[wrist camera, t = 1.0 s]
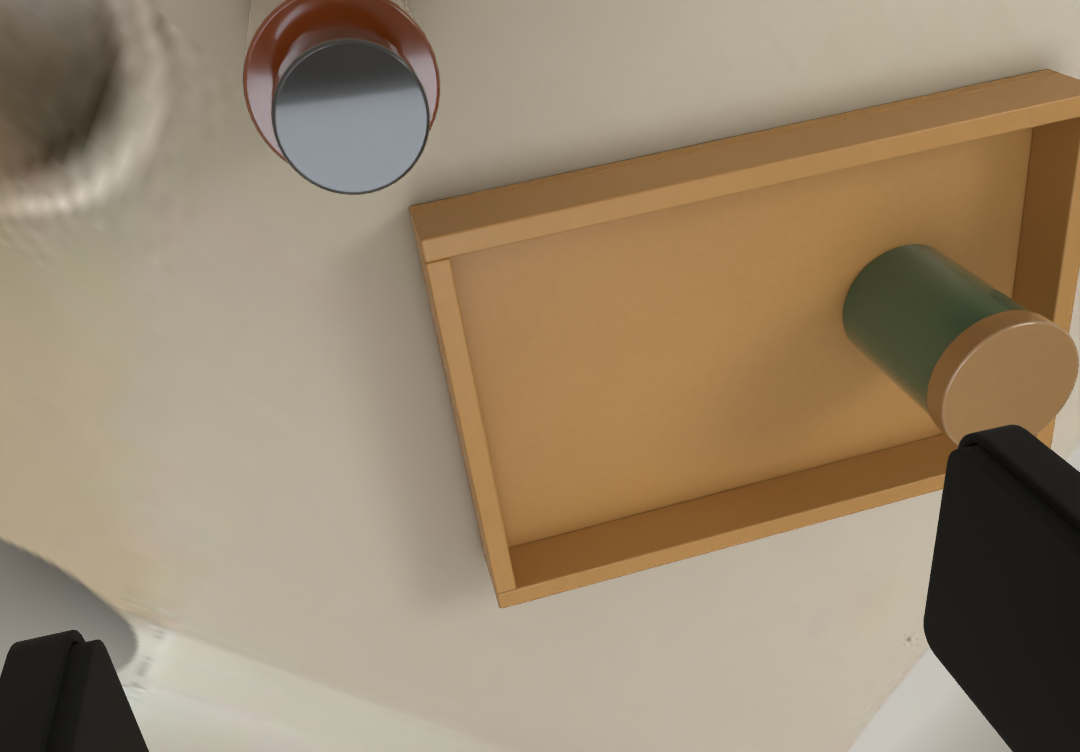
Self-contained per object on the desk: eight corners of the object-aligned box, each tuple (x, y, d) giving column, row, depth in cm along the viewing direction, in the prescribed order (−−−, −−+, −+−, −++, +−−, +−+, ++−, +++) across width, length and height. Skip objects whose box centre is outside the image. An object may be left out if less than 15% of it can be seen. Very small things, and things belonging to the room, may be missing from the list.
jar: (840, 257, 37) (948, 342, 32) (962, 228, 38) (1090, 306, 32) (838, 370, 40) (937, 468, 34) (952, 342, 41) (1069, 433, 35)
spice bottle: (230, -45, 28) (211, 30, 19) (382, -72, 29) (437, -13, 20) (273, 108, 31) (274, 242, 21) (413, 79, 31) (476, 199, 22)
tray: (408, 206, 33) (419, 240, 31) (1048, 68, 36) (1108, 88, 34) (485, 558, 41) (499, 610, 39) (1003, 422, 44) (1049, 461, 42)
